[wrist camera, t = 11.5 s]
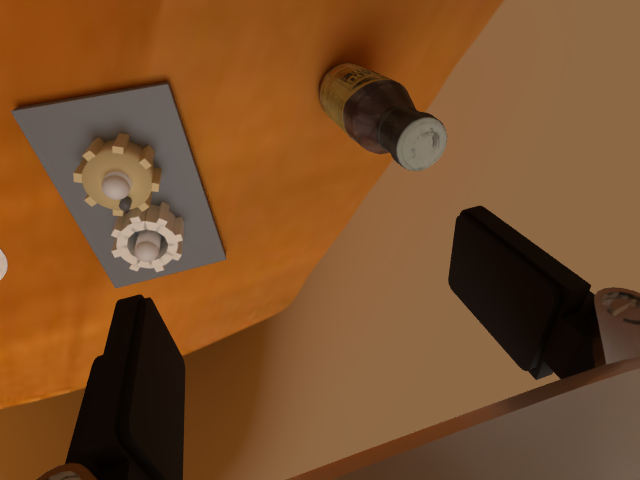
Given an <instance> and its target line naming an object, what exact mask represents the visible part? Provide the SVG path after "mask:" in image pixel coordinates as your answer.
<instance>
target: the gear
mask: <svg viewBox="0 0 640 480" xmlns="http://www.w3.org/2000/svg"><path fill="white" fill-rule="evenodd" d="M169 206H170V205H169V204H167V203H164V202H161V204H160V205H159V206H157V205H152V204H150V207H149V208H147V209H146V210H145V211H143V212H142V211H141V210H140V209H139V208H138V207H137V208H134V209H131V210H130V211H129V212H128V213H124V214H123V216H118V217H117V219H116V222H115V225H114V228H113V231H112V234H111V236H113V237H116V238H115V241H114V244H113V247H112V250H111V252H112V254H113V255H114V257H115V258H116V257H120V256H121V257H122V258H123V259H124V260H125V261H127V262H129V263H130V267H129V269H131V270H134V271H138V270H139V268H140V267H142V268H149V269H150V268H151V269H152V268H154V269H155V271H156V272H159V271H163V270H164V269H165V264H167V263H168V262H169V261H171V260H172V259H174V260H177V261H178V260H179V259H180V257H181V256H182V241H183V235H184V222H183V219H182V217H178V218H176V217H175V216H174V214H172V213H171V212H170V211H169ZM145 229H147V230H152V231H157V232H158V233H160V234H161V235H163V236H164V237H165V238H164V239H163V240H161V242H160V249H159V254H158V256H157V258H156V259H154V260H153V261H150V262H143V261H140V260H139V259H138V258H137V257H136V256H135V253H134V249H135V245H136V241H137V236H136V235H135V232H137V231H141V230H145Z"/></svg>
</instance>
